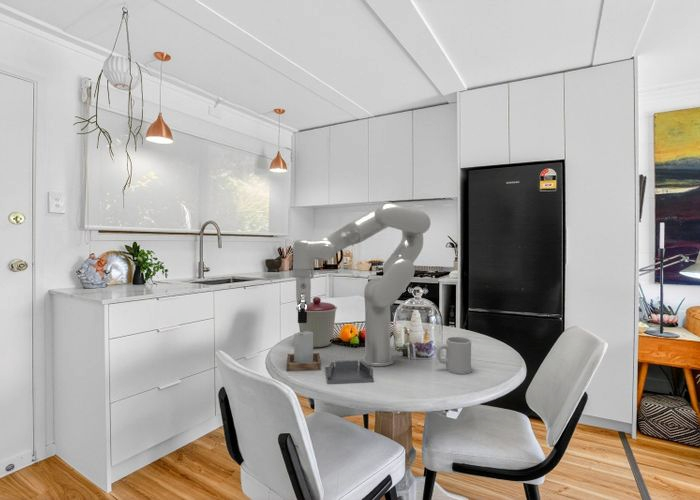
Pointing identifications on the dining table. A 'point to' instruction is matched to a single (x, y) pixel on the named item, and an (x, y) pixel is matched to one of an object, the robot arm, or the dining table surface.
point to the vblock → (348, 372)
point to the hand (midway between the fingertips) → (302, 319)
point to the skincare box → (303, 347)
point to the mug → (456, 355)
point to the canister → (319, 322)
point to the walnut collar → (303, 364)
